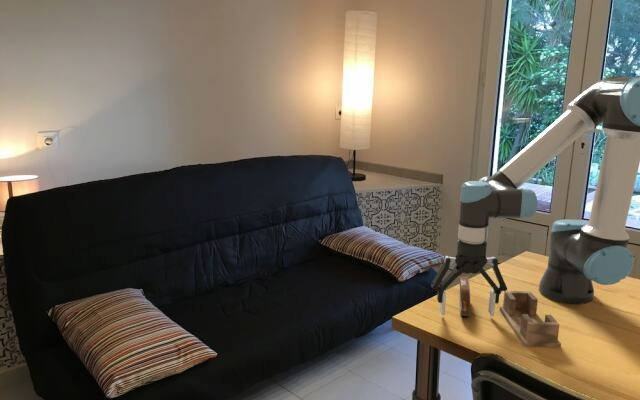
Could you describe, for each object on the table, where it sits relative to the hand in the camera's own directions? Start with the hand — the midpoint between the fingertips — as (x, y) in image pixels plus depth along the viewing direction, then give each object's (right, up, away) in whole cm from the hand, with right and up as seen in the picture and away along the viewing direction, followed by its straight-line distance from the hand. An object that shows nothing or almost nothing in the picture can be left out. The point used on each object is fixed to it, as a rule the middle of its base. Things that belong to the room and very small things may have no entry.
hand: (466, 313), depth 143 cm
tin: (+1, 0, +6) cm, 6 cm away
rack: (+15, -3, -5) cm, 16 cm away
